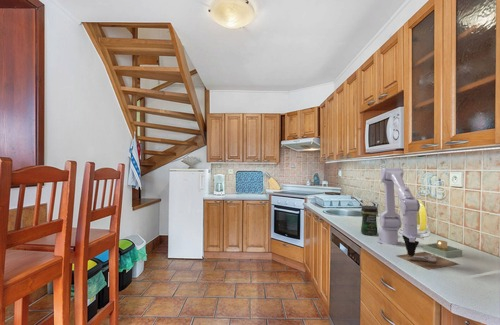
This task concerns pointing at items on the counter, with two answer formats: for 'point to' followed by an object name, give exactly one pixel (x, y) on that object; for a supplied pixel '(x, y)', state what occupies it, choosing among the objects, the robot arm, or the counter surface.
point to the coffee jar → (369, 220)
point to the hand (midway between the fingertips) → (410, 253)
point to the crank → (423, 258)
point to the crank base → (439, 262)
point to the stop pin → (442, 245)
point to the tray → (450, 251)
